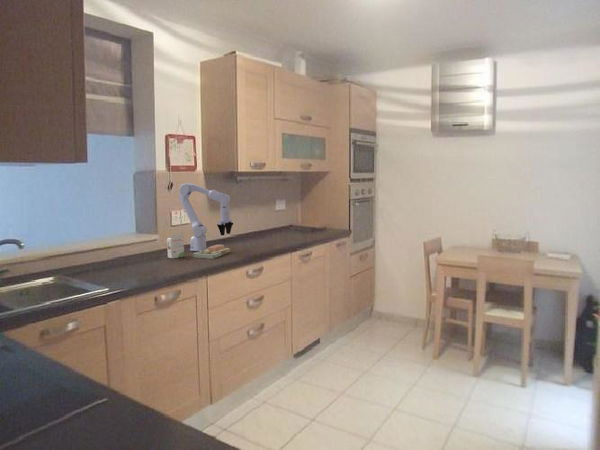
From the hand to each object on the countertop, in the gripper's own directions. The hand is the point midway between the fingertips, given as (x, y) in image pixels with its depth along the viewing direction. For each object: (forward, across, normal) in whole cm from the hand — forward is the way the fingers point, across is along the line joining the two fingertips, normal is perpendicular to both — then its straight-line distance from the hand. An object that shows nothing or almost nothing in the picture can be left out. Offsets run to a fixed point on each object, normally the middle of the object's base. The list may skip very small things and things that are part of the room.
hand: (225, 234), depth 285 cm
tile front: (+8, -14, +1) cm, 16 cm away
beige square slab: (+10, -10, +1) cm, 15 cm away
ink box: (+11, -29, +18) cm, 35 cm away
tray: (+10, -22, +1) cm, 24 cm away
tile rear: (+8, -8, +1) cm, 11 cm away
